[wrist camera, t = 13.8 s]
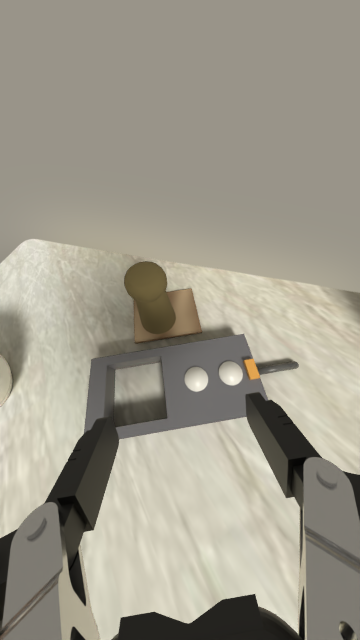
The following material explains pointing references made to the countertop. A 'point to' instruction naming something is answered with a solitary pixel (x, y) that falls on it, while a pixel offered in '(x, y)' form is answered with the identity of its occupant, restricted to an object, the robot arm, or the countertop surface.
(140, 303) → the pepper shaker
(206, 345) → the charging strip
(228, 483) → the countertop surface
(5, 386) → the lidded bowl
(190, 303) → the cork pad
